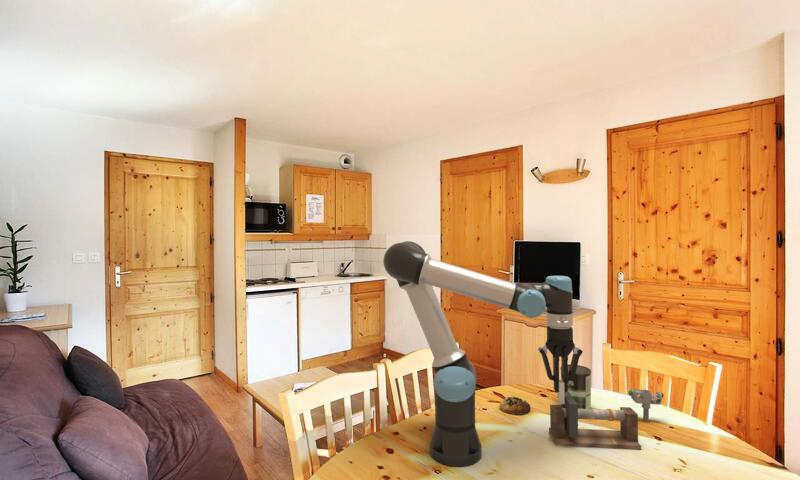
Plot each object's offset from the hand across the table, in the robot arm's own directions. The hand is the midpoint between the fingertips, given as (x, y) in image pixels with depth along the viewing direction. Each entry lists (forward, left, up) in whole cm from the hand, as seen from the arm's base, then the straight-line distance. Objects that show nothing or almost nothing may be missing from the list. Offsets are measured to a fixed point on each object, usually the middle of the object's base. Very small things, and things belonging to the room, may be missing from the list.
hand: (560, 402), depth 127 cm
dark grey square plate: (+2, 0, -8) cm, 9 cm away
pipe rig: (+9, 0, -11) cm, 15 cm away
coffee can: (+11, +24, -12) cm, 29 cm away
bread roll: (-11, +21, -12) cm, 26 cm away
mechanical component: (+31, +15, -12) cm, 37 cm away
